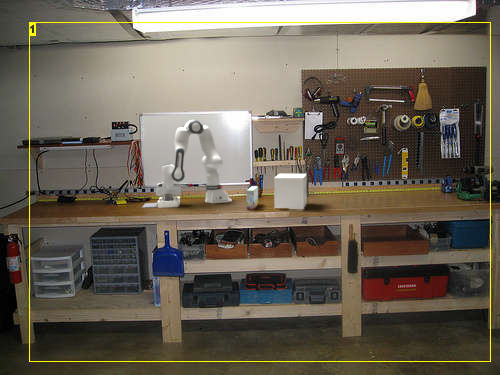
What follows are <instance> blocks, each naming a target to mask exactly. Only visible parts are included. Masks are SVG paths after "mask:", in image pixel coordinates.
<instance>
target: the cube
mask: <svg viewBox="0 0 500 375" xmlns="http://www.w3.org/2000/svg"><path fill="white" fill-rule="evenodd" d="M273 180H274V182H273V185H274V187H273V188H274V190H273V191H274V192H273V193H274V194H273V196H274V209H275V208H289V209H304V210H305V208H306V206H307V173H278V174H277V175H276V176H274V177H273ZM305 205H306V206H305ZM304 207H305V208H304Z"/></svg>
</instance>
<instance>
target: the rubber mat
mask: <svg viewBox="0 0 500 375" xmlns="http://www.w3.org/2000/svg"><path fill="white" fill-rule="evenodd" d="M156 208H158V202H148V203H144V204H143V205H142V207H141V209H156Z"/></svg>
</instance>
